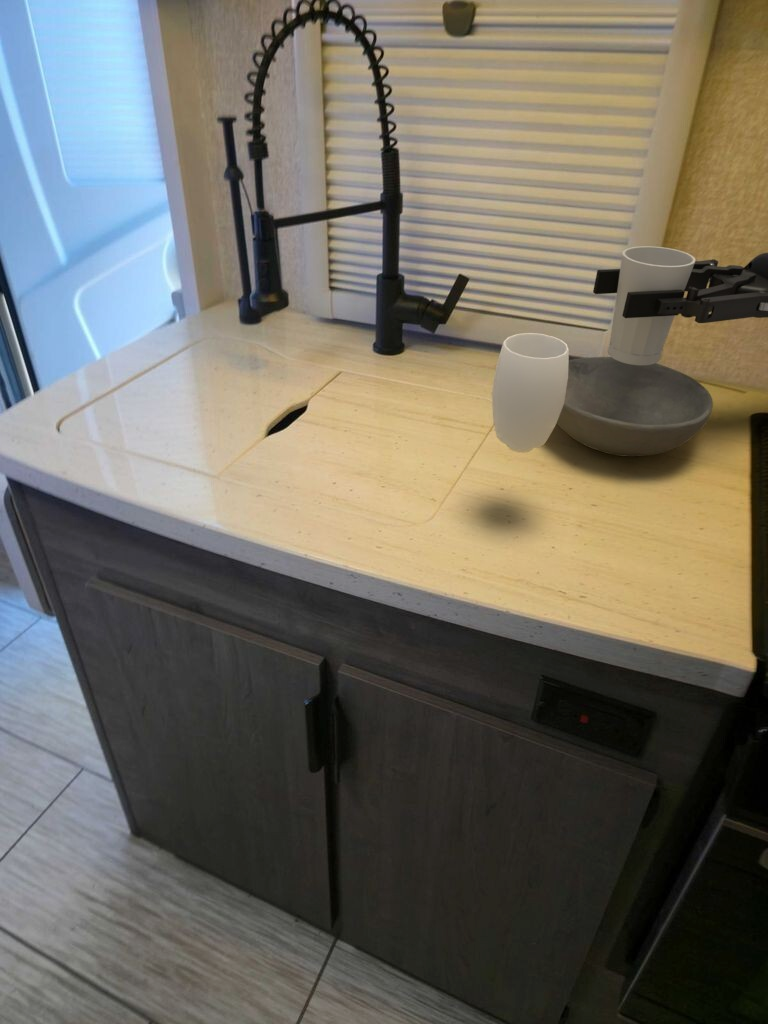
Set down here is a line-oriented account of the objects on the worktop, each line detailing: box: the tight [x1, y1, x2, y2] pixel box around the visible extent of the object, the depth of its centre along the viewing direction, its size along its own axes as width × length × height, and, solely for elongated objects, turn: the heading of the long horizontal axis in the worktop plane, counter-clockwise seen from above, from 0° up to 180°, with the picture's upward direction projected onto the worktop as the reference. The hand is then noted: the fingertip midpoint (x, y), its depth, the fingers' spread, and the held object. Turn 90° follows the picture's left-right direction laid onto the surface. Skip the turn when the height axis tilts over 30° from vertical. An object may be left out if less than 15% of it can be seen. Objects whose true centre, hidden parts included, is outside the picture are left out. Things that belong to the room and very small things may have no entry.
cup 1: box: [491, 332, 570, 454], centre depth 70 cm, size 7×7×21 cm
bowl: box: [556, 356, 714, 457], centre depth 88 cm, size 21×21×8 cm
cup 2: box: [607, 245, 697, 365], centre depth 80 cm, size 8×8×12 cm
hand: (611, 293), depth 78 cm, fingers closed on cup 2, 7 cm apart
